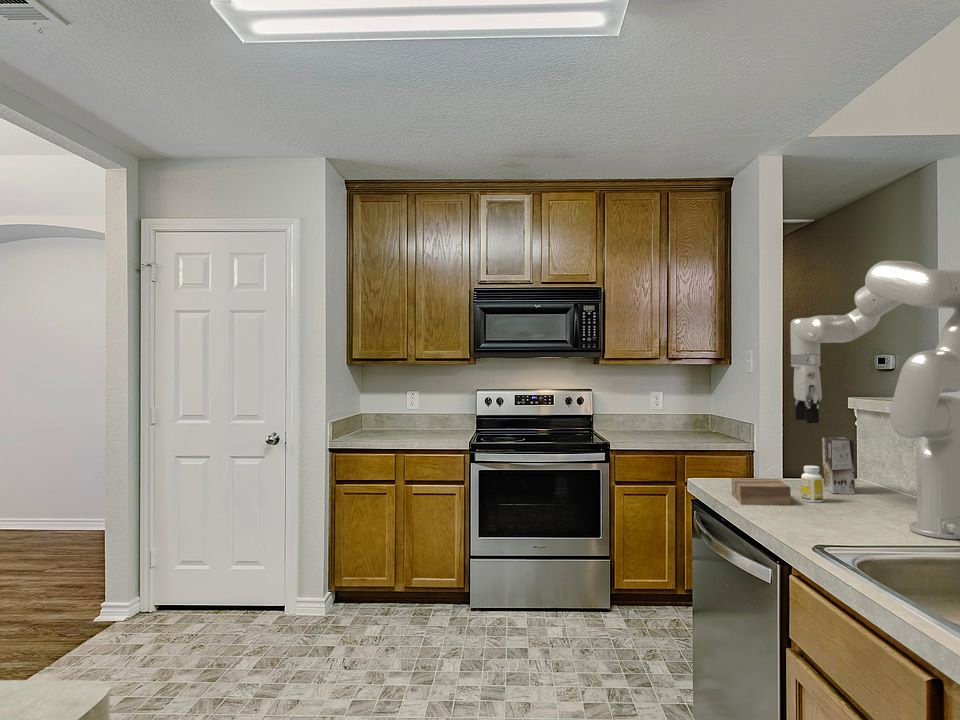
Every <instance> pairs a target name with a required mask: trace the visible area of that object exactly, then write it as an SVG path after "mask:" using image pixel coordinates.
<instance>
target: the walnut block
mask: <svg viewBox="0 0 960 720" xmlns="http://www.w3.org/2000/svg"><path fill="white" fill-rule="evenodd" d="M732 495H733V496H734V497H735V498H736V499H737V500H738V501H739V502H740V503H741V504H740V503H739V502H738V501H737V500H736V499H735V498H734V497H733V498H734V499H735V500H736V501H737V502H738V503H739V504H740V505H746V504H761V505H760V506H791V505H792V503H791V502H792V501H791V496H792V495H791V486H789V485H788V484H787V483H785V482H783V481H782V480H780V479H779V478H748V477H747V478H745V477H744V478H742V477H741V478H739V477H736V478H735V477H732V478H731V496H732Z"/></svg>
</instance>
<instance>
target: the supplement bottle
mask: <svg viewBox="0 0 960 720" xmlns="http://www.w3.org/2000/svg"><path fill="white" fill-rule="evenodd" d="M800 477H801V478H800V480H801V482H800V483H801V501H803V502H807V503H823V501H824V482H823V475H821V474H820V466H818V465H804V466H803V473H802V474H801V476H800Z"/></svg>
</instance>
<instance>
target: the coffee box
mask: <svg viewBox="0 0 960 720" xmlns="http://www.w3.org/2000/svg"><path fill="white" fill-rule="evenodd" d="M821 438H822V439H821V440H822V444H821V446H822V469H823V470H822V472H823V473H822V479H823V489H824V488H825V490H826V489H827V490H826V491H828V490H829V491H828V492H830V493H831V492H832V494H834V493H839V494H840V495H841V494H842V495H855V494H856V492H855V491H856V490H855V482H856V481H855V480H856V479H855V439H852V438H847V437H844V436H829V437H828V436H827V437H825V436H823V437H821Z"/></svg>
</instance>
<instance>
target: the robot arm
mask: <svg viewBox="0 0 960 720" xmlns="http://www.w3.org/2000/svg"><path fill="white" fill-rule="evenodd" d="M864 283H865V284H864V286H862V287H860V288H859V289H857V291H856V292H855V294H854V296H853V297H854V298H853V299H854V304H855V306H856V308H854V309H853V310H852V311H850V312H848V313H846V314H844V315H842V314H841V315H840V314H839V315H836V314H835V315H834V314H828V315H826V314H825V315H823V314H822V315H814V316H811V317H799V318H794V319H792V320H791V321H790V325H789V326H790V331H789V332H790V367H793V397H794V400H795V402H794V405H795V406H794V409H795V411H794V413H795V414H794V415H795V420H796V421H805V423H806V424H819V422H820V418H819V415H820V413H819V409H820V408H819V407H820V405H819V402H821V401H822V395H823V394H822V380H821V372H820V368H819V367H821V344H828V343H829V344H831V343H834V344H835V343H849V342H852V341H854V340H856V339H858V338H860V337H862V336H864V335H865V334H867V333H869V332H870V331H872V330H873V329H874V328H876V326H877V324H878V323H879V322H880V319H881V317H883V315H885V314H887V313H888V312H890V311H891V310H894V309H895V308H897V307H898V306H900V305H903V304H906V305H909V306H913V307H917V308H927V309H953V311H954V312H953V314H952V315H951V316H950V317H949V319H948V320H947V321H946V323H945V324H944V325H943V328H942V330H941V334H940V337H939V341H938V343H937V345H936V348H935V349H931V350H930V349H929V350H923V351H918V352H916V353H914V354H912V355H911V356H910V357H908V359H907V360H906V361H905V363H904V364H903V365H902V367H901V369H900V372H899V376H898V380H897V383H896V387H895V390H894V394H893V397H892V402H891V405H890V408H889V409H890V410H889V421H890V422H889V423H890V425H891V427H892V429H893V430H894V431H895V433H897V435H898V436H899V435H900V436H901V437H903V438H905V439H911V440H912V439H914V440H917V439H919V441H918V444H917V446H916V452H915V453H916V454H915V457H916V458H915V471H916V475H915V476H916V477H915V479H916V515H917V517H916V518H917V521H912V522H910V523H909V530H910V531H912V532H913V533H915V534H919V535H923V536H926V537H931V538H937V539H947V540H960V399H959V398H957V397H955V396H952V395H946V393H959V392H960V270H959V269H958V270H957V269H930V268H926V267H925V266H924V265H923V264H920V263H919V262H915V261H910V260H882V261H879V262H876V263H875V264H874V265H873V266H871V267H870V269H868V271H867V273H866V275H865V278H864ZM941 393H943V394H941Z"/></svg>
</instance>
